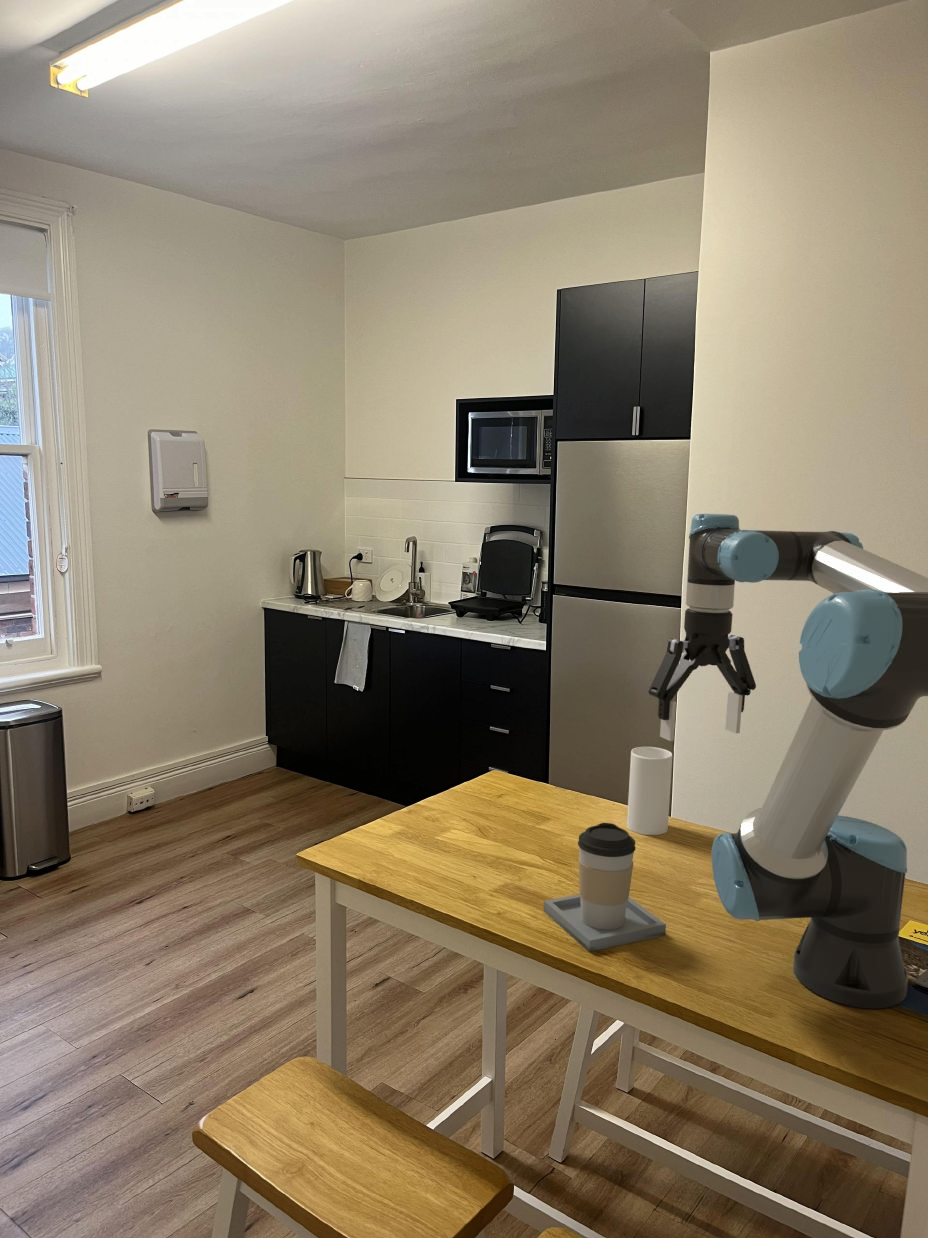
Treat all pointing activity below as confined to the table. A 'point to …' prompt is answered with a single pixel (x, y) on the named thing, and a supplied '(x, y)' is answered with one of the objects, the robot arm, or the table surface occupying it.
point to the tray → (634, 929)
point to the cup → (649, 790)
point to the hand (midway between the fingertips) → (700, 735)
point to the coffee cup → (605, 875)
